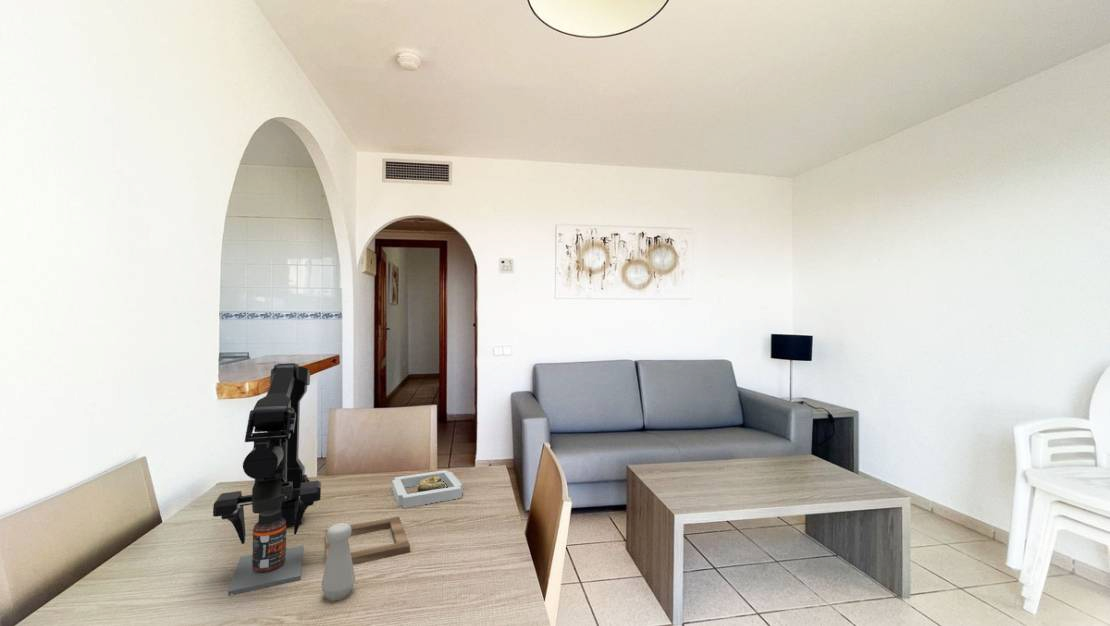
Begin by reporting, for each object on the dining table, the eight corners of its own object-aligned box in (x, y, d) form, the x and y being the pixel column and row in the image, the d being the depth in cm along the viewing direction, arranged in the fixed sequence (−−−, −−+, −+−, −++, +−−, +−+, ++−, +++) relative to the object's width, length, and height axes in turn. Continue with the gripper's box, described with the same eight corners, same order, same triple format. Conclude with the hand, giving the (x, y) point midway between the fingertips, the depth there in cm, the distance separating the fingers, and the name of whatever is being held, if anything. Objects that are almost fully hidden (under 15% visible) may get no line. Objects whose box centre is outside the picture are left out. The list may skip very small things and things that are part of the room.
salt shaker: (329, 586, 89) (330, 519, 89) (359, 584, 89) (360, 518, 90) (315, 604, 83) (316, 533, 83) (348, 603, 84) (349, 532, 84)
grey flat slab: (240, 560, 98) (240, 557, 98) (303, 548, 104) (303, 544, 104) (227, 595, 86) (228, 591, 86) (300, 579, 91) (300, 575, 91)
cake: (421, 503, 132) (419, 485, 132) (412, 492, 140) (411, 475, 140) (454, 494, 137) (452, 476, 137) (443, 484, 145) (442, 467, 145)
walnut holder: (325, 535, 110) (325, 529, 110) (398, 522, 117) (399, 516, 117) (325, 570, 94) (325, 563, 95) (409, 552, 102) (410, 545, 102)
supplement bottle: (270, 575, 91) (270, 519, 91) (244, 572, 92) (245, 516, 92) (292, 559, 97) (292, 506, 97) (268, 556, 98) (268, 504, 98)
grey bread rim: (390, 487, 142) (391, 477, 142) (449, 478, 150) (449, 469, 150) (399, 509, 125) (399, 498, 125) (464, 497, 134) (464, 487, 134)
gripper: (207, 482, 84) (205, 568, 83) (320, 468, 92) (319, 545, 92) (219, 465, 94) (218, 541, 93) (321, 454, 102) (320, 523, 102)
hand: (269, 538), depth 95 cm, fingers open, 9 cm apart
